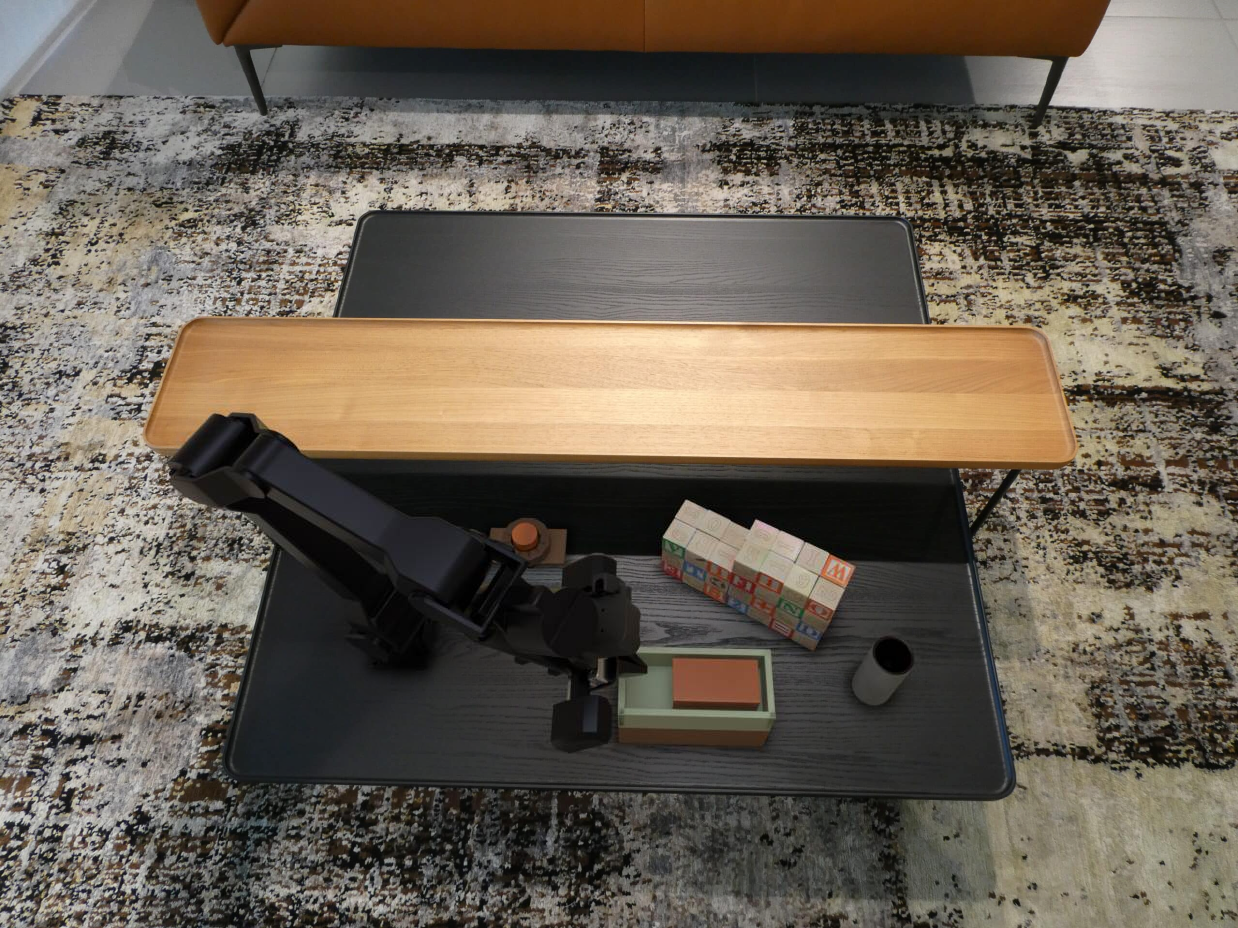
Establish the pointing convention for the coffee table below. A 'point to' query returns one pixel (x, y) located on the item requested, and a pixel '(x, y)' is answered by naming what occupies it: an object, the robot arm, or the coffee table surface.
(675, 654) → the bin
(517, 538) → the button
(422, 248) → the coffee table surface
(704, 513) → the stack of blocks
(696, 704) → the orange rectangular box
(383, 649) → the robot arm
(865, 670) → the planter
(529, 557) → the button block
